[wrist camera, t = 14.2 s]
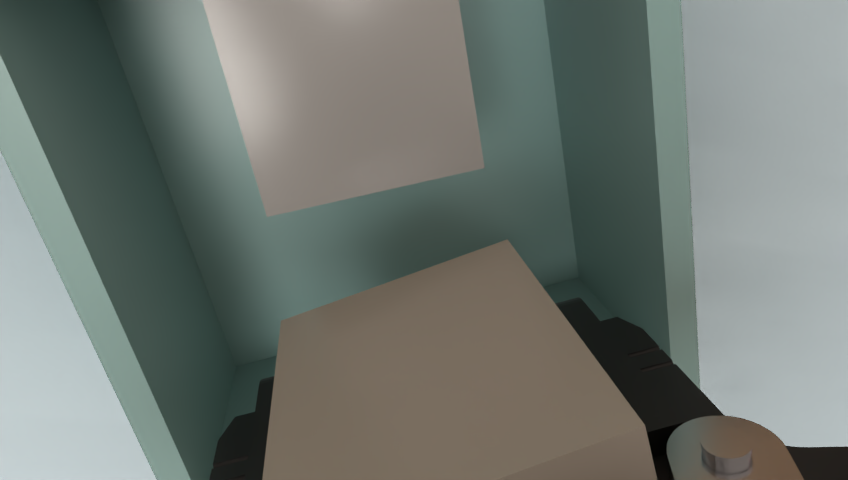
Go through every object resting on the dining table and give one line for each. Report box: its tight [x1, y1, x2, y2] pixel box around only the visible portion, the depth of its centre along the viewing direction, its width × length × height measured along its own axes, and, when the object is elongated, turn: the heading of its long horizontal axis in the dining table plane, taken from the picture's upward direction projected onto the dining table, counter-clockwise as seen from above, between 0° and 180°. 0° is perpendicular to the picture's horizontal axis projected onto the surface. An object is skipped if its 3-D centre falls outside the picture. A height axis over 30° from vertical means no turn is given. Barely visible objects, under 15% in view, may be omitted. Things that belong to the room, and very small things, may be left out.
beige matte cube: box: [262, 239, 657, 480], centre depth 9 cm, size 4×4×5 cm
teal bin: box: [0, 0, 700, 480], centre depth 14 cm, size 11×11×6 cm
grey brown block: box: [202, 0, 485, 217], centre depth 13 cm, size 4×4×5 cm
